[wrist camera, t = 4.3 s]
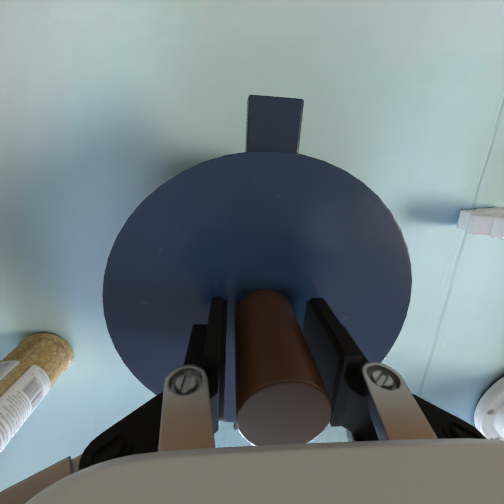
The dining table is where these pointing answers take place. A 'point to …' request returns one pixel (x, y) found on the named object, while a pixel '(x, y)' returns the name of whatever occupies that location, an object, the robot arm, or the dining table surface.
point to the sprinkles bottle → (29, 378)
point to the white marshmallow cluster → (483, 221)
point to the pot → (273, 126)
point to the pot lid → (257, 281)
